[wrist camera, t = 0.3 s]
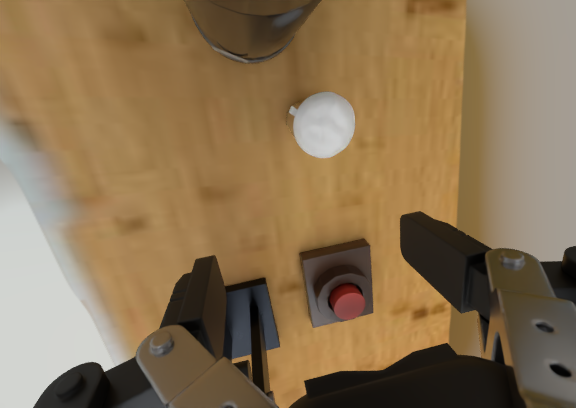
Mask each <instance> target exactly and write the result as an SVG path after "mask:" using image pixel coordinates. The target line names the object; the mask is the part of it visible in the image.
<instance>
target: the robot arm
mask: <svg viewBox="0 0 576 408" xmlns="http://www.w3.org/2000/svg"><path fill="white" fill-rule="evenodd" d="M184 2H185V4H186V6H187V7H188V9H189V11H190V13H191V15H192V18H193V20H194V22H195V24H196V26H197V28H198V29H199V31H200V33H201V34H202V36H203V37H204V39H205V40H206V41H207V42H208V43H209V44H210V45H211V46H212V48H213V50H216V51H217V52H219V53H220V54H222V55H223V56H225V57H227V58H229V59H231V60H234V61H237V62H241V63H259V62H264V61H267V60H269V59H271V58H273V57H275V56H277V55H278V54H279V53H281V52H282V51H283V50H284V49H285V48H286V47H287V46H288V45H289V43H290V42H291V41H292V39H293V38H294V36H295V34H296V32H297V31H298V30H299V29H300V27H301V26H302V25H303V24H304V22H305V21H306V20H307V18H308V17H309V16H310V15H311V13H312V12H313V11H314V9H315V8H316V7H317V6H318V4H319V3H320V2H321V0H184ZM400 248H401V252H402V255H403V257H404V259H405V260H406V261H407V262H408V263H409V264H410V265H411V266H412V267H413V268H414V269H415V270H416V271H417V272H418V273H419V274H420V275H421V276H422V277H423V278H424V279H425V280H427V281H428V282H429V283H430V284H431V285H432V286H433V287H434V288H435V289H436V290H437V291H438V292H439V293H440V294H441V295H442V296H443V297H444V298H445V299H446V300H447V301H448V302H450V303H451V304H452V305H453V306H454V307H455V308H456V309H457V310H458V311H459V312H460V313H465V312H469V311H473V310H476V311H478V319H477V322H478V331H479V341H480V350H481V358H480V357H475V356H467V355H457V354H456V353H455V351H454V350H453V349H452V348H451V347H450V346H449V344H448V343H445V344H441V345H438V346H434V347H430V348H426V349H422V350H419V351H415V352H412V353H411V354H409V355H407V356H406V357H404V358H402V359H401V360H399V361H398V362H396V363H394V364H393V365H391V366H389V367H388V368H386V369H384V370H380V371H339V372H336V373H332V374H328V375H324V376H321V377H317V378H313V379H309V380H305V381H304V382H305V387H306V393H307V394H306V395H304V396H303V397H301V398H300V399H298V400H297V401H296V402H294V403H293V404H292V405H291V406H290V407H289V408H576V246H573V247H569V248H567V249H566V250H565V252H564V256H563V261H557V262H555V261H553V262H540V261H539V260H538V259H536V258H535V257H534V256H532V255H530V254H528V253H525V252H522V251H519V250H515V249H507V248H498V249H491V248H489V247H488V246H486V245H484V244H483V243H481V242H479V241H477V240H476V239H474V238H472V237H470V236H469V235H466V234H465V233H464V232H462V231H460V230H458V229H457V228H455V227H453V226H451V225H450V224H448V223H445V222H442V221H438V220H434V219H433V218H431V217H429V216H428V215H426V214H424V213H423V212H420V211H418V212H414V213H409V214H405V215H402V216H401V218H400ZM226 304H227V297H226V290H225V286H224V282H223V279H222V275H221V272H220V268H219V265H218V262H217V259H216V256H215V255H213V256H208V257H203V258H199V259H196V260H195V263H194V266H193V270H192V273H187V274H184V275H183V276H182V277H181V278H180V279H179V281H178V282H177V283H176V285H175V287H174V290H173V294H172V296H171V298H170V302H169V304H168V306H167V309H166V312H165V314H164V317H163V320H162V323H161V325H160V328H159V329H158V330H156V331H155V332H153V333H152V334H150V335H149V336H148V337H147V338H146V339H145V340H144V341H143V342H142V343H141V344H140V346H139V347H138V349H137V352H136V356H135V357H134V358H132V359H130V360H128V361H126V362H124V363H122V364H120V365H118V366H116V367H114V368H112V369H110V370H108V371H106V372H104V371H103V369H102V367H101V365H100V364H98V363H94V362H89V363H84V364H81V365H78V366H76V367H74V368H72V369H70V370H68V371H67V372H65V373H63V374H62V375H61V376H59V377H58V378H57V379H56V380H54V381H53V382H52V383H51V384H50V385H49V386H48V387H47V388H46V390H45V391H44V392H43V394H42V395H41V396H40V398H39V399H38V401H37V403H36V404H35V406H34V407H33V408H279V407H278V406H277V405H276V404H275V403H274V402H273V401H272V400H271V399H270V398H269V397H268V396H266V395H265V394H264V393H263V392H262V391H261V390H260V389H259V388H258V387H257V386H256V385H255V384H254V383H253V382H252V381H251V380H250V379H248V378H247V377H246V376H245V375H244V374H243V373H242V372H241V371H240V370H239V369H238V368H237V367H236V366H235V365H234V364H233V363H232V362H231V361H229V360H228V359H227V358H226V357H223V356H222V355H223V342H224V330H225V317H226Z"/></svg>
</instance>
